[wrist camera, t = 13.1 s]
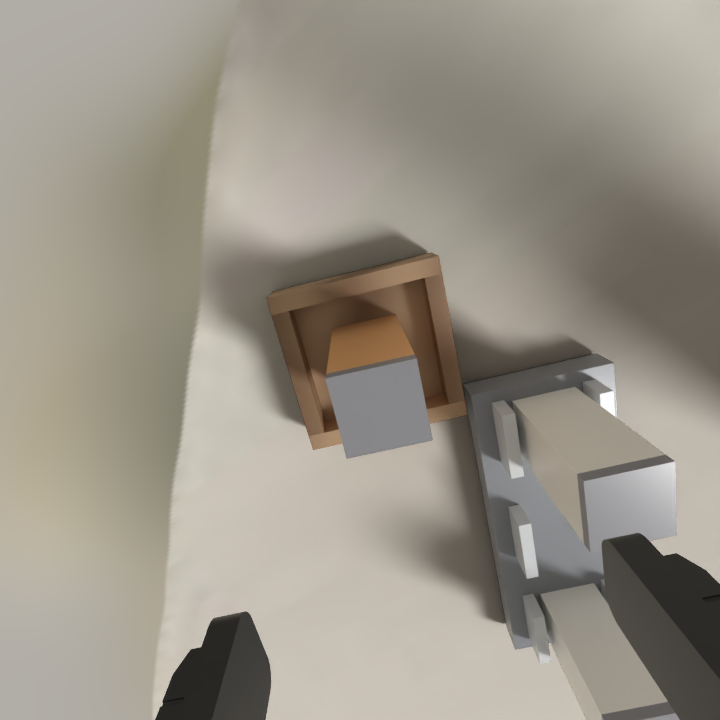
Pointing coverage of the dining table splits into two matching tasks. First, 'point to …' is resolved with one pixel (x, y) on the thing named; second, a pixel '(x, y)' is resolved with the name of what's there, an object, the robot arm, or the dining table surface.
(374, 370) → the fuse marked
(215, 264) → the dining table surface
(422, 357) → the tray
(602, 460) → the fuse block
